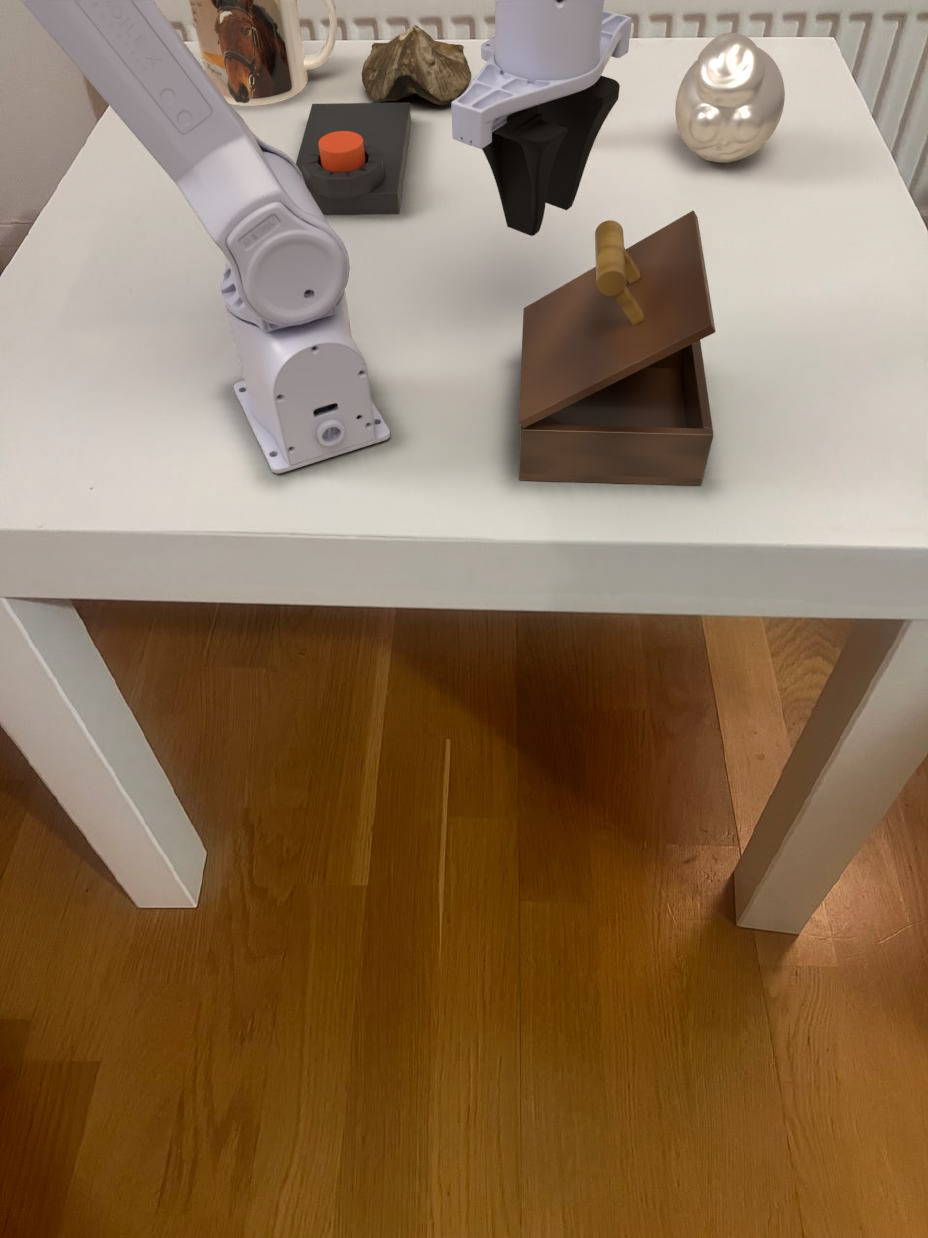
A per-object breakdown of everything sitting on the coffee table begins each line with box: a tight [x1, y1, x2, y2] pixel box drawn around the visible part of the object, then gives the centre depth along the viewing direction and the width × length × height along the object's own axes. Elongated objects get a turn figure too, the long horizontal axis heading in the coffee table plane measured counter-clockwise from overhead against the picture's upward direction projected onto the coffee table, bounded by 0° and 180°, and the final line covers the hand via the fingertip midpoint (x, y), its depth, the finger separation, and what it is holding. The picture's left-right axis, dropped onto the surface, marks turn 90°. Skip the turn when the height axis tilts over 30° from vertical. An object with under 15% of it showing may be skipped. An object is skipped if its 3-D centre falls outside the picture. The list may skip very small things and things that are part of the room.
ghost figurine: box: [674, 32, 786, 164], centre depth 78 cm, size 9×10×10 cm
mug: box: [188, 0, 338, 107], centre depth 88 cm, size 10×12×11 cm
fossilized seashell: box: [361, 24, 472, 106], centre depth 88 cm, size 8×7×10 cm
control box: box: [295, 102, 412, 216], centre depth 81 cm, size 17×9×4 cm, turn 178°
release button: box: [319, 131, 365, 172], centre depth 76 cm, size 4×4×2 cm
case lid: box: [517, 210, 716, 428], centre depth 54 cm, size 12×11×4 cm
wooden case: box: [518, 340, 714, 486], centre depth 60 cm, size 11×11×4 cm
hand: (539, 215), depth 59 cm, fingers open, 3 cm apart
